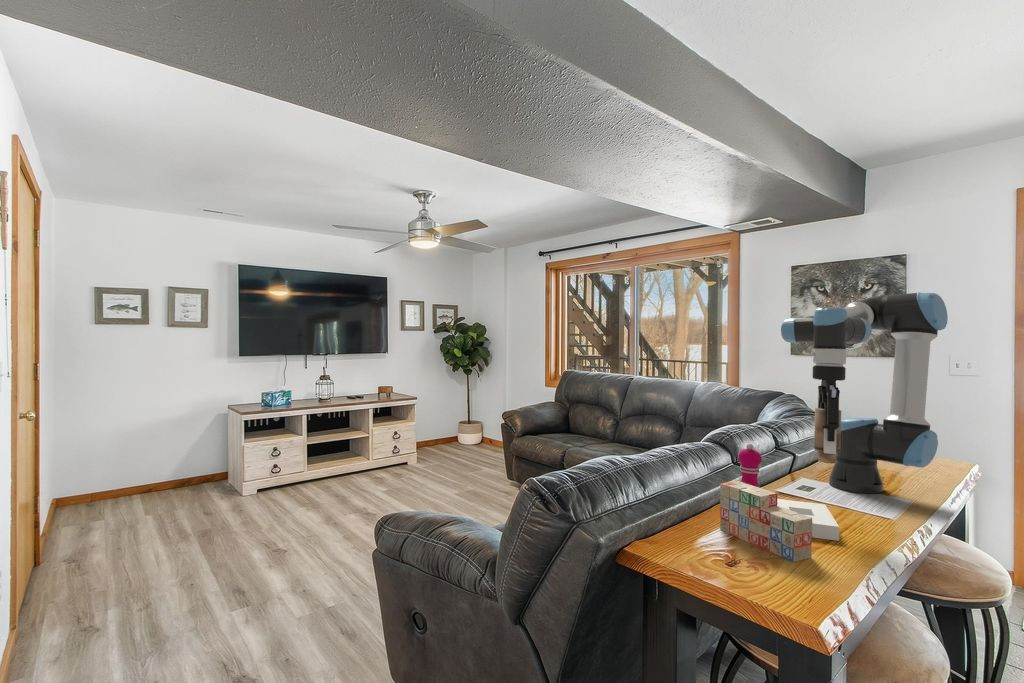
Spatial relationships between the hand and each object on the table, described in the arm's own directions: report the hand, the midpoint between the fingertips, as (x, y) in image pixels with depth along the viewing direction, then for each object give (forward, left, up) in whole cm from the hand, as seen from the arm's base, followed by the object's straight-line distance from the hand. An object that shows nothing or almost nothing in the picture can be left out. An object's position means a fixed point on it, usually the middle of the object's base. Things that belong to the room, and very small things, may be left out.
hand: (827, 450), depth 136 cm
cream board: (+6, +4, -20) cm, 21 cm away
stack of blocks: (+17, +21, -20) cm, 33 cm away
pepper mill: (+19, +1, -20) cm, 27 cm away
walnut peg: (0, 0, -3) cm, 3 cm away
